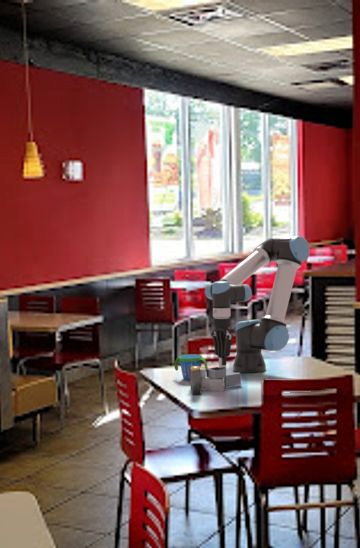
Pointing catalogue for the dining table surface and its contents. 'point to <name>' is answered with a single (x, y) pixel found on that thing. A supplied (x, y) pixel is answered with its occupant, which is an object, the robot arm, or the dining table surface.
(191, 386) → the block
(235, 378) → the grey stacked cubes
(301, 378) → the dining table surface
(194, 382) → the pin
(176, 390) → the dining table surface
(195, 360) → the snack cup
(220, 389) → the fixed leaf
